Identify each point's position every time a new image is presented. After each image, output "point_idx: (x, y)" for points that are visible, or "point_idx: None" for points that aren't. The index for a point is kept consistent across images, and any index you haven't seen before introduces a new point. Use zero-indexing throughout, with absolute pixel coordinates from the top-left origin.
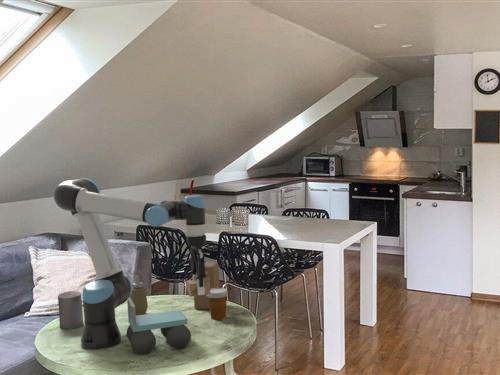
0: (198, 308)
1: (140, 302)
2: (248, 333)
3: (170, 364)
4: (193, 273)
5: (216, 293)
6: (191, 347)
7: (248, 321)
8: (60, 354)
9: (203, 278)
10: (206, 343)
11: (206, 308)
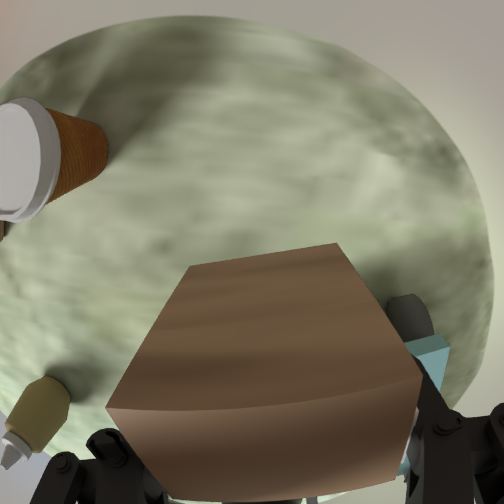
0: (3, 228)
1: (52, 417)
2: (320, 42)
3: (479, 332)
4: (166, 494)
5: (41, 162)
6: (402, 279)
7: (162, 27)
8: (304, 498)
9: (415, 413)
10: (386, 224)
11: None
